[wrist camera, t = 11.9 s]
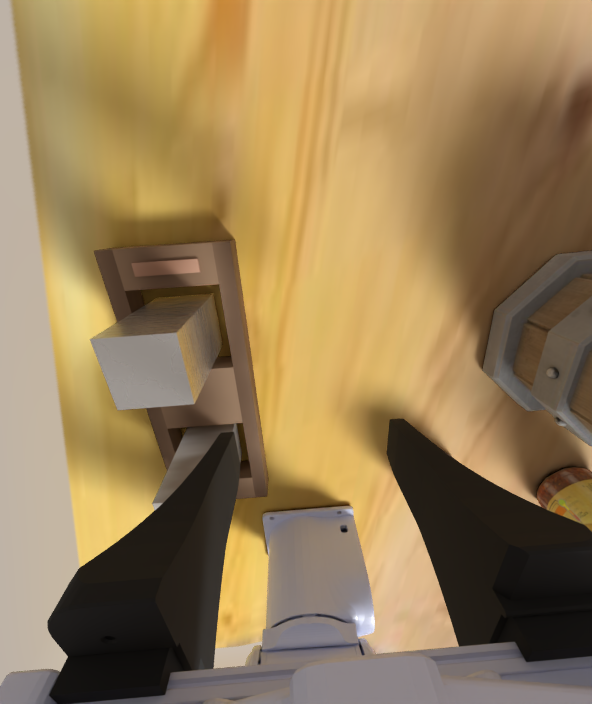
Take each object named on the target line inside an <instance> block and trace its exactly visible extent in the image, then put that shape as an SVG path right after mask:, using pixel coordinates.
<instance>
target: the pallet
mask: <svg viewBox="0 0 592 704" xmlns="http://www.w3.org/2000/svg"><path fill="white" fill-rule="evenodd" d="M94 254H95V257H96V260H97V263H98V266H99V269H100V272H101V275H102V278H103V281H104V284H105V287H106V290H107V293H108V296H109V299H110V302H111V305H112V308H113V311H114V314H115V316H116V319H117V322H119V321H120V320H122V319H124V318H125V317H127V316H128V315H130V314H132V313H133V312H135V311H137V310H138V309H140V308H141V307H143V306H145V304H144V301H143V297H142V294H141V290H145V289H159V288H174V287H188V286H202V285H216V284H219V287H220V293H221V299H222V305H223V311H224V317H225V322H226V328H227V334H228V340H229V346H230V352H231V356H226V357H217V358H216V360H215V362H214V364H213V366H212V369H211V371H210V373H209V375H208V377H207V379H206V381H205V383H204V385H203V387H202V390H201V392H200V394H199V396H198V398H197V400H196V402H195V404H190V405H178V406H165V407H153V408H146V409H147V412H148V415H149V418H150V421H151V424H152V427H153V430H154V433H155V436H156V439H157V442H158V445H159V448H160V451H161V454H162V457H163V460H164V463H165V466H166V469H167V473H166V475H165V477H164V479H163V481H162V484H161V486H160V488H159V490H158V492H157V494H156V497H155V499H154V501H153V503H152V504H153V507H154V509H155V510H156V509H157V508H158V507H159V506H160V505H161V504H162V503H164V502H165V500H166V499H167V498H168V497H169V496H170V495H171V494H172V493H173V492H174V491H175V490H176V489H177V488H178V487H179V486H180V485H181V484H182V482H183V481H184V480H185V479H186V478H187V476H188V475H189V474H190V473H191V472H192V471H193V469H194V468H195V467H196V466H197V464H198V463H199V462H200V460H201V459H202V458H203V456H204V455H205V454H206V452H207V451H208V450H209V448H210V447H211V445H212V444H213V443H214V441H215V440H216V438H217V437H218V435H219V434H220V433H224V432H234V434H235V439H236V444H237V449H238V455H239V460H240V476H239V486H238V491H237V496H236V499H241V498H254V497H266V496H267V495H268V473H267V465H266V458H265V451H264V444H263V437H262V430H261V422H260V415H259V408H258V401H257V394H256V387H255V379H254V372H253V365H252V358H251V351H250V344H249V336H248V329H247V322H246V315H245V308H244V301H243V293H242V286H241V279H240V272H239V265H238V258H237V250H236V243H235V240H222V241H207V242H193V243H178V244H164V245H149V246H134V247H120V248H109V249H102V250H95V251H94ZM237 423H243V427H244V433H245V439H246V445H247V451H248V457H249V461H242V462H241V457H242V450H241V445H240V439H239V434H238V428H237ZM183 427H187V429H186V432H185V434H184V436H183V437H182V434H181V430H180V428H183Z"/></svg>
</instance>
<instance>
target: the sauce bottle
mask: <svg viewBox="0 0 592 704" xmlns="http://www.w3.org/2000/svg"><path fill="white" fill-rule="evenodd" d="M537 500H538V501H539V503H540V505H541V506H542V507H543V508H544V509H546V510H549V511H551V512H554V513H556V514H559V515H561V516H564V517H566V518H569V519H571V520H574V521H576V522H579V523H581V524H584V525H585V526H587V527H588V528H589V529H590V530H591V531H592V472H591V471H590V470H588V469H585V468H579V467H571V468H564V469H562V470H560V471H557V472H556V473H554V474H552V475H550V476H548V477H547V478H545V479H544V481H543V482H542V484H541V485H540V486H539V488H538V491H537Z"/></svg>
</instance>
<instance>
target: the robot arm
mask: <svg viewBox="0 0 592 704" xmlns="http://www.w3.org/2000/svg"><path fill="white" fill-rule="evenodd" d="M387 456H388V459H389V462H390V465H391V468H392V471H393V474H394V476H395V478H396V480H397V483H398V485H399V487H400V489H401V491H402V493H403V495H404V497H405V499H406V501H407V503H408V506H409V508H410V510H411V512H412V514H413V516H414V518H415V520H416V522H417V525H418V527H419V529H420V532H421V534H422V537H423V540H424V542H425V545H426V548H427V550H428V553H429V556H430V559H431V562H432V564H433V567H434V570H435V573H436V576H437V579H438V582H439V585H440V588H441V591H442V594H443V597H444V600H445V603H446V606H447V609H448V612H449V615H450V618H451V622H452V625H453V628H454V632H455V635H456V638H457V641H458V645H459V647H449V648H438V649H427V650H416V651H405V652H394V653H383V654H376V653H375V651H374V649H373V648H372V647H371V646H370V645H369V643H368V642H367V640H366V639H364V638H363V639H358V637H360V636H363V635H368V634H371V633H373V632H374V628H375V621H374V609H373V601H372V595H371V589H370V584H369V579H368V574H367V570H366V566H365V562H364V558H363V553H362V549H361V545H360V541H359V537H358V533H357V529H356V525H355V520H354V516H353V508H352V507H351V506H339V507H327V508H315V509H302V510H290V511H278V512H267V513H264V514H263V518H262V519H263V525H264V531H265V538H266V544H267V550H268V556H269V564H268V589H267V614H266V629H263V637H262V647H261V645H259V646H254V648H253V649H252V652H251V653H250V654H249V656H248V657H247V660H246V664H245V666H239V667H227V668H216V669H213V667H214V654H215V642H216V631H217V621H218V610H219V600H220V591H221V582H222V573H223V565H224V557H225V549H226V543H227V538H228V533H229V528H230V524H231V519H232V515H233V510H234V505H235V501H236V496H237V491H238V486H239V476H240V460H239V455H238V449H237V444H236V439H235V434H234V432H224V433H220V434H219V435H218V437H217V438H216V440H215V441H214V443H213V444H212V445H211V447H210V448H209V450H208V451H207V452H206V454H205V455H204V456H203V458H202V459H201V460H200V462H199V463H198V464H197V466H196V467H195V468H194V469H193V471H192V472H191V473H190V474H189V475H188V476H187V478H186V479H185V480H184V481H183V482H182V484H181V485H180V486H179V487H178V488H177V489H176V490H175V491H174V492H173V493H172V494H171V495H170V496H169V497H168V498H167V499H166V500H165V502H164V503H162V504H161V505H160V506H159V507H158V508H157V509H156V510H155V511H154V512H153V513H152V514H150V515H149V516H148V517H147V518H146V519H145V520H144V521H143V522H141V523H140V524H139V525H138V526H137V527H135V528H134V529H133V530H132V531H130V532H129V533H128V534H127V535H125V536H124V537H123V538H121V539H120V540H119V541H118V542H116V543H115V544H113V545H112V546H111V547H109V548H108V549H107V550H105V551H104V552H102V553H101V554H99V555H98V556H96V557H95V558H94V559H92V560H91V561H89V562H88V563H86V564H85V565H83V566H82V567H80V568H79V569H78V571H77V572H76V574H75V576H74V577H73V579H72V580H71V582H70V583H69V585H68V587H67V589H66V590H65V592H64V594H63V595H62V597H61V599H60V601H59V603H58V604H57V606H56V608H55V609H54V611H53V613H52V615H51V616H50V618H49V620H48V630H49V633H50V634H51V636H52V638H53V639H54V640H55V641H56V642H57V644H58V645H59V646H60V647H61V648H62V650H63V651H64V652H65V653H66V654H67V656H68V658H67V660H66V662H65V664H64V666H63V668H62V670H61V672H59V671H57V670H53V669H41V670H30V671H19V672H11V673H10V674H8V675H7V676H6V678H5V679H4V681H3V682H2V685H1V686H0V704H592V531H591V530H590V529H589V528H588V527H587V526H585V525H584V524H581V523H579V522H576V521H574V520H571V519H569V518H566V517H564V516H561V515H559V514H556V513H554V512H551V511H549V510H546V509H544V508H542V507H540V506H538V505H535V504H533V503H531V502H529V501H527V500H525V499H522V498H520V497H518V496H516V495H514V494H512V493H510V492H509V491H507V490H505V489H503V488H501V487H499V486H497V485H495V484H494V483H492V482H490V481H488V480H486V479H485V478H483V477H481V476H480V475H478V474H477V473H475V472H473V471H472V470H470V469H468V468H467V467H465V466H464V465H462V464H461V463H459V462H458V461H457V460H455V459H454V458H452V457H451V456H449V455H448V454H447V453H445V452H444V451H443V450H441V449H440V448H439V447H437V446H436V445H435V444H434V443H432V442H431V441H430V440H429V439H427V438H426V437H425V436H424V435H422V434H421V433H420V432H419V431H418V430H416V429H415V428H414V427H413V426H412V425H410V424H409V423H408V422H407V421H405V420H404V419H390V423H389V434H388V445H387Z"/></svg>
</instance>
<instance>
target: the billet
mask: <svg viewBox="0 0 592 704" xmlns="http://www.w3.org/2000/svg"><path fill="white" fill-rule="evenodd" d="M90 341H91V343H92V346H93V349H94V351H95V354H96V356H97V359H98V361H99V364H100V366H101V369H102V372H103V374H104V377H105V379H106V382H107V384H108V387H109V389H110V392H111V395H112V397H113V400H114V402H115V405H116V407H117V410H127V409H140V408H153V407H165V406H178V405H190V404H195V402H196V400H197V398H198V396H199V394H200V392H201V390H202V387H203V385H204V383H205V381H206V379H207V377H208V375H209V373H210V371H211V369H212V366H213V364H214V362H215V360H216V358H217V356H218V354H219V352H220V350H221V348H222V345H223V342H222V337H221V331H220V326H219V321H218V315H217V310H216V304H215V299H214V294H213V293H212V294H199V295H185V296H172V297H158V298H156V299H154V300H153V301H151V302H150V303H148V304H146V305H145V306H143V307H141V308H140V309H138V310H137V311H135V312H133V313H132V314H130V315H128V316H127V317H125V318H124V319H122V320H120V321H119V322H117V323H116V324H114V325H112V326H111V327H109V328H107V329H106V330H104V331H103V332H101V333H99V334H98V335H96V336H94V337H93V338H91V339H90Z"/></svg>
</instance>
